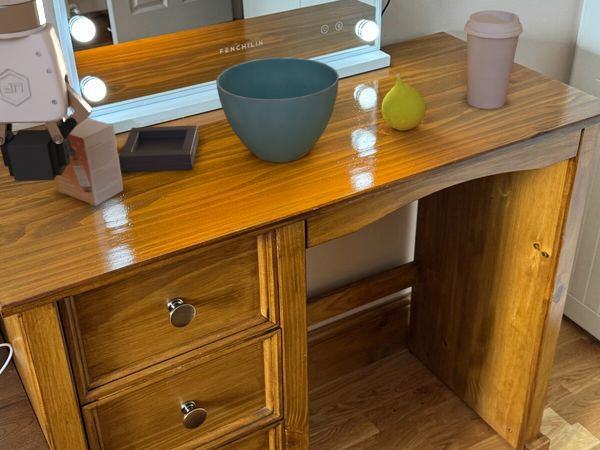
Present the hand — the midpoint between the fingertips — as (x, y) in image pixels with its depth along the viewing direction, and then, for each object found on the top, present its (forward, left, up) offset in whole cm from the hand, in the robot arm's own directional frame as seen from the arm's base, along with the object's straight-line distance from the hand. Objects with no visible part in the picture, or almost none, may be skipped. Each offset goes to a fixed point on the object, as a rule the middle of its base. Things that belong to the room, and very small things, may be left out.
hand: (39, 169), depth 90 cm
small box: (+17, -1, -12) cm, 21 cm away
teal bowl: (+28, -28, -12) cm, 41 cm away
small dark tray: (+28, -9, -12) cm, 32 cm away
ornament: (+35, -48, -12) cm, 61 cm away
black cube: (0, 0, 0) cm, 0 cm away
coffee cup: (+45, -64, -12) cm, 79 cm away
